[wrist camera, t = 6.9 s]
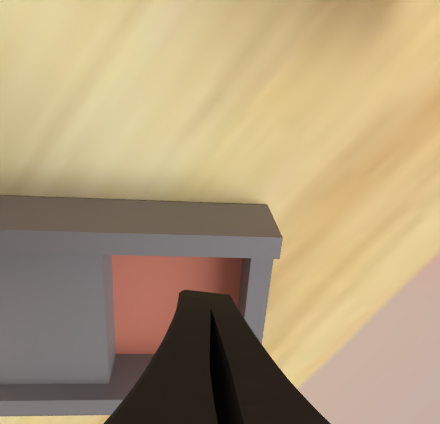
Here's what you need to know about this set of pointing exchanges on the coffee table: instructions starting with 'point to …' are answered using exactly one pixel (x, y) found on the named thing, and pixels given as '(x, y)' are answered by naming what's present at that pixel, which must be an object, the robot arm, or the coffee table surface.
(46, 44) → the coffee table surface
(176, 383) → the robot arm
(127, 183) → the coffee table surface
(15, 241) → the trap runway
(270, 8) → the coffee table surface
